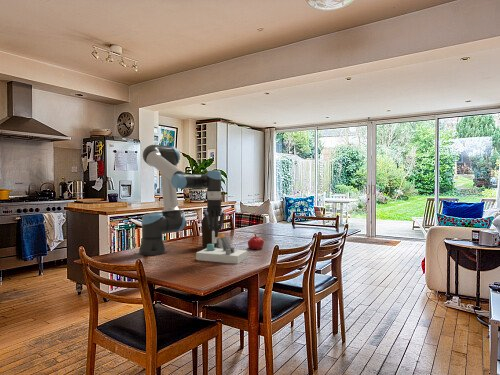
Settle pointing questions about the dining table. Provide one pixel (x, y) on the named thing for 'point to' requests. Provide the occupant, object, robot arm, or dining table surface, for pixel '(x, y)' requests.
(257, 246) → the pomegranate
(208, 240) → the olive oil
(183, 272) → the dining table surface
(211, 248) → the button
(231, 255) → the panel
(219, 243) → the electrical switch
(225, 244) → the lever
